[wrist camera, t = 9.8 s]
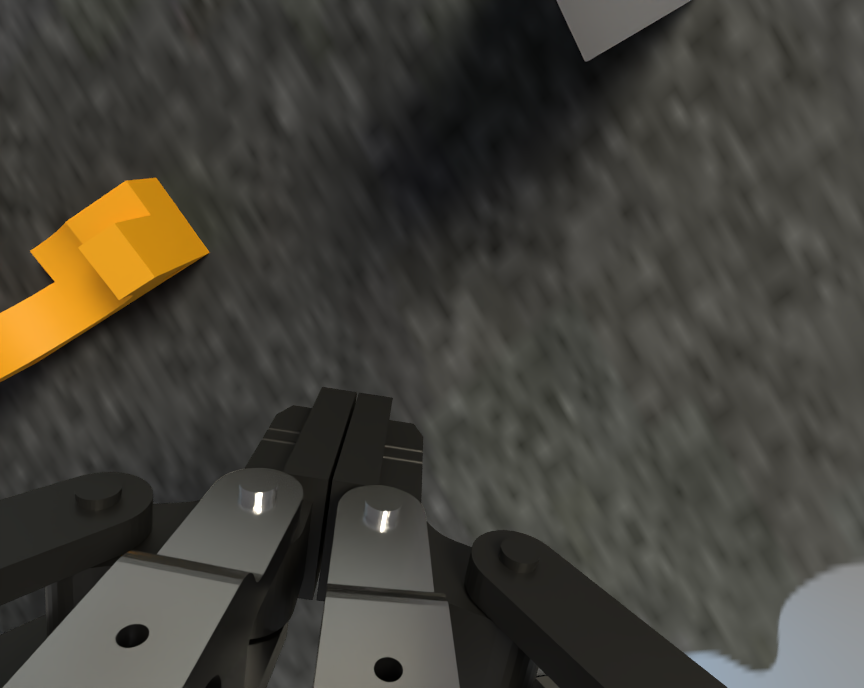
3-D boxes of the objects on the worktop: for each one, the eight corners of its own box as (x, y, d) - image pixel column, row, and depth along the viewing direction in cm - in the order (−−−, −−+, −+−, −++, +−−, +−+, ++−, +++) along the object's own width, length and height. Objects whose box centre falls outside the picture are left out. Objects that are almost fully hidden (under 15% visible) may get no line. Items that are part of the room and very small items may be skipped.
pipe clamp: (158, 177, 29) (85, 184, 23) (210, 251, 30) (155, 277, 24) (-19, 296, 31) (-129, 331, 25) (38, 362, 32) (-55, 411, 26)
